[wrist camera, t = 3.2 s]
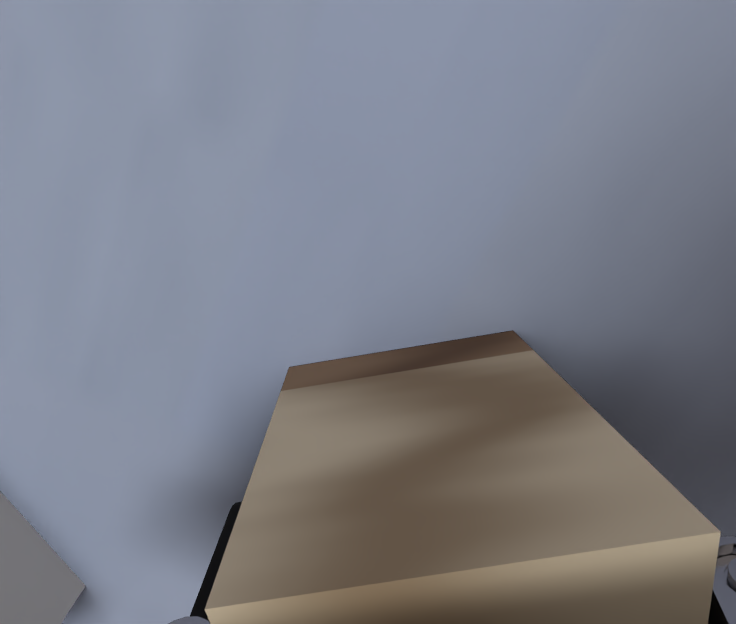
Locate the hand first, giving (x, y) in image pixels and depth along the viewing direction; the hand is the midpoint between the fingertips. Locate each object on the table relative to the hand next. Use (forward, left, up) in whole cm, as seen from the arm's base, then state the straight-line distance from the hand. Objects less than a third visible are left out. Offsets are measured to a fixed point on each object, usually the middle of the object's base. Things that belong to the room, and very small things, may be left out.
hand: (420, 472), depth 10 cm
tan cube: (0, 0, -1) cm, 1 cm away
